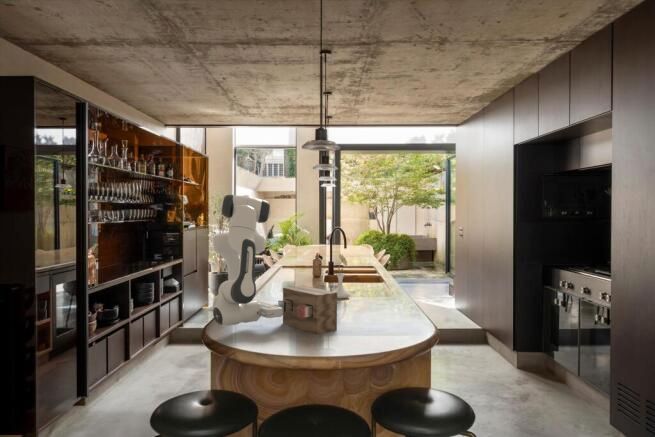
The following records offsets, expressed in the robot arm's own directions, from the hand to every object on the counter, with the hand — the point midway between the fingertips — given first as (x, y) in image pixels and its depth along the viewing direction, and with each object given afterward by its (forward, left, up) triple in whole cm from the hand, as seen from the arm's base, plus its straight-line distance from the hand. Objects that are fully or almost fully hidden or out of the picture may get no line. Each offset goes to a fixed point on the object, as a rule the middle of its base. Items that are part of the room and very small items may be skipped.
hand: (279, 306), depth 218 cm
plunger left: (+3, +4, -2) cm, 5 cm away
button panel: (+12, +4, -9) cm, 15 cm away
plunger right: (+14, -4, -2) cm, 15 cm away
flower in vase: (+9, +76, -9) cm, 77 cm away
